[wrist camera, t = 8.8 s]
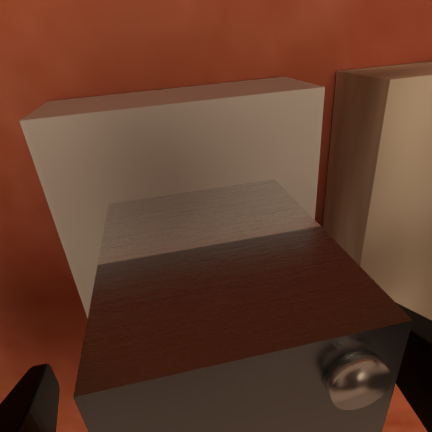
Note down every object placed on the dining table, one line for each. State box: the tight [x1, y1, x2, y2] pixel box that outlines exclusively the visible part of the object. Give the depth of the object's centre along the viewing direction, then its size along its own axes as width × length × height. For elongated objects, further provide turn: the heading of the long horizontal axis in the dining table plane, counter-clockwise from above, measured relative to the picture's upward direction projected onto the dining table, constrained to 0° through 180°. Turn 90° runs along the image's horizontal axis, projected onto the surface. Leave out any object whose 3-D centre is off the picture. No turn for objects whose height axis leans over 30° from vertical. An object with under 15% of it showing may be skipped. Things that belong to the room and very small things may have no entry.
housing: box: [74, 179, 413, 432], centre depth 9 cm, size 5×7×6 cm
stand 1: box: [19, 77, 325, 318], centre depth 13 cm, size 8×12×3 cm, turn 5°
